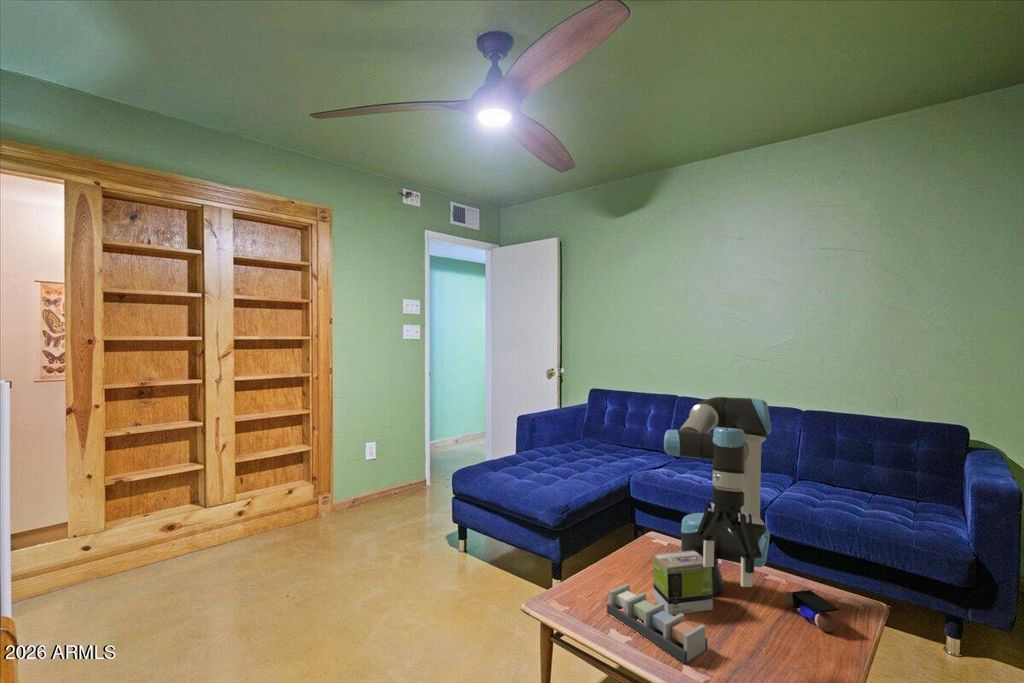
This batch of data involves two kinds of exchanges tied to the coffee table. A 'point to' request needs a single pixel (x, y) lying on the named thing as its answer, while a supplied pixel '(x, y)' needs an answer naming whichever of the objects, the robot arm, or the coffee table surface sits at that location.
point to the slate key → (660, 619)
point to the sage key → (641, 608)
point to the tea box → (682, 582)
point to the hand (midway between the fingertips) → (726, 575)
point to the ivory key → (623, 598)
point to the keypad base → (682, 652)
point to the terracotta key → (680, 631)
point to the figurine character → (813, 608)
